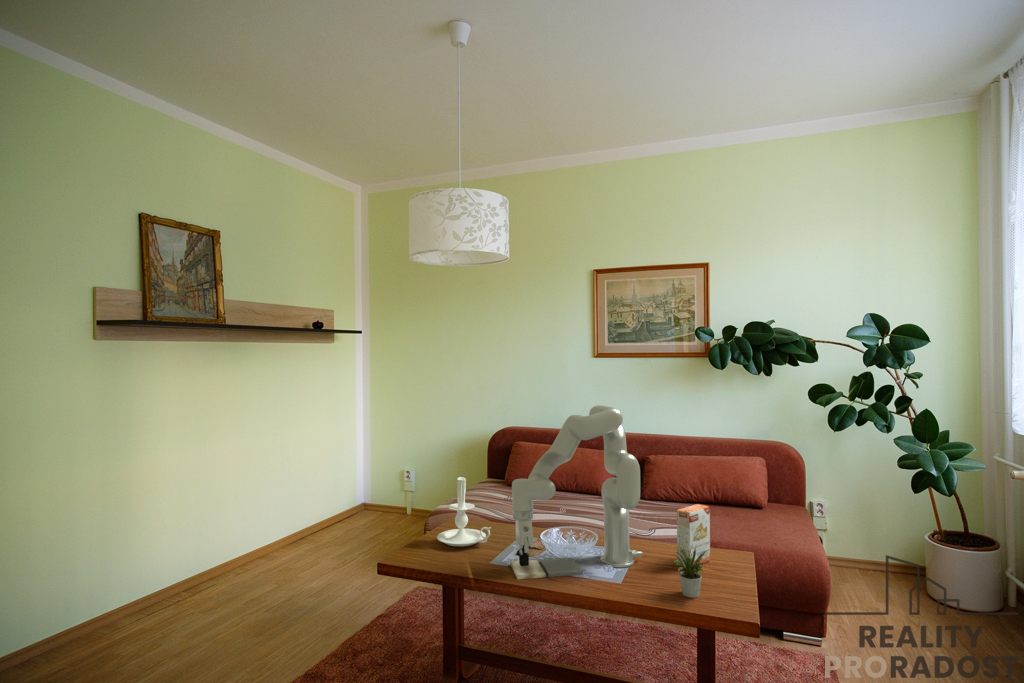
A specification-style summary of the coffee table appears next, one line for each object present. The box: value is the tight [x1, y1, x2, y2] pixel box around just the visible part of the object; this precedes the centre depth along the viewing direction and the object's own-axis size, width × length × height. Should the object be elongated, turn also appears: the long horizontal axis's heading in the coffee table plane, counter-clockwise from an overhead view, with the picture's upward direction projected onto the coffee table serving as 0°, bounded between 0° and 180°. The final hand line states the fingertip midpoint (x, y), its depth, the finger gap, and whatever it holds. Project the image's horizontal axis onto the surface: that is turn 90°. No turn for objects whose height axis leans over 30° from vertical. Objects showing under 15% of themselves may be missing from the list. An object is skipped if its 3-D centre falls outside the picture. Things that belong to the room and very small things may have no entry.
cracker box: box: [676, 503, 711, 567], centre depth 211 cm, size 14×6×21 cm, turn 129°
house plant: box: [666, 543, 708, 598], centre depth 183 cm, size 14×14×16 cm
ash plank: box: [510, 559, 549, 580], centre depth 202 cm, size 11×14×2 cm
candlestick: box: [436, 476, 492, 548], centre depth 235 cm, size 21×25×28 cm
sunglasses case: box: [515, 537, 547, 558], centre depth 224 cm, size 18×7×7 cm
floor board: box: [539, 557, 583, 578], centre depth 204 cm, size 12×14×2 cm
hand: (524, 564), depth 201 cm, fingers closed
